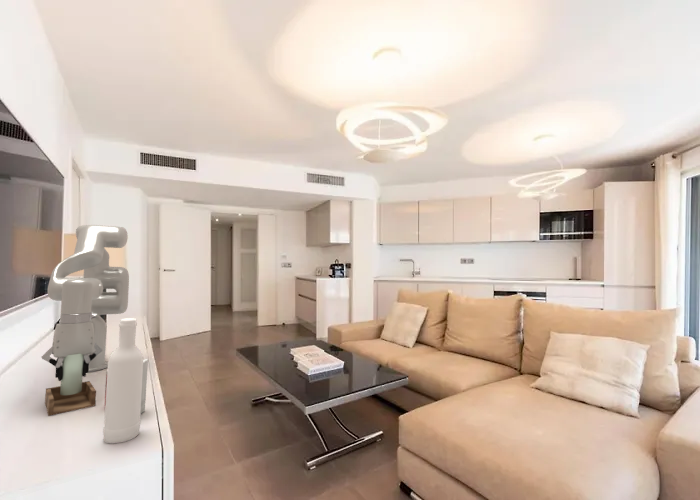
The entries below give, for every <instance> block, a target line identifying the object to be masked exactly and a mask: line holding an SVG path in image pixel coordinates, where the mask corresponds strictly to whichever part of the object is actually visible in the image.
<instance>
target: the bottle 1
mask: <svg viewBox="0 0 700 500" xmlns="http://www.w3.org/2000/svg"><path fill="white" fill-rule="evenodd" d="M83 361H84V356H83V355H82V354H73V355H67V357H64V359H63V362H62V367H63V372H62V380H61V381H60V386H61V388H60V395H73V394H77V393H79V392H81V391H82V382H83Z"/></svg>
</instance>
